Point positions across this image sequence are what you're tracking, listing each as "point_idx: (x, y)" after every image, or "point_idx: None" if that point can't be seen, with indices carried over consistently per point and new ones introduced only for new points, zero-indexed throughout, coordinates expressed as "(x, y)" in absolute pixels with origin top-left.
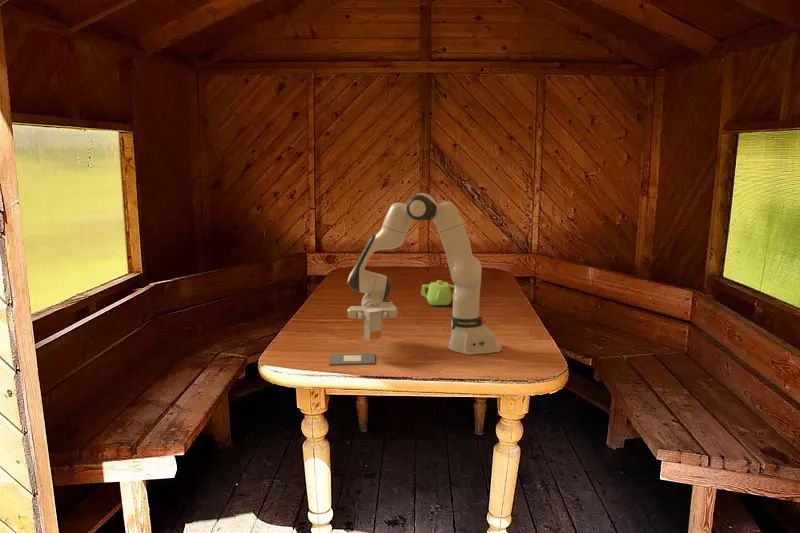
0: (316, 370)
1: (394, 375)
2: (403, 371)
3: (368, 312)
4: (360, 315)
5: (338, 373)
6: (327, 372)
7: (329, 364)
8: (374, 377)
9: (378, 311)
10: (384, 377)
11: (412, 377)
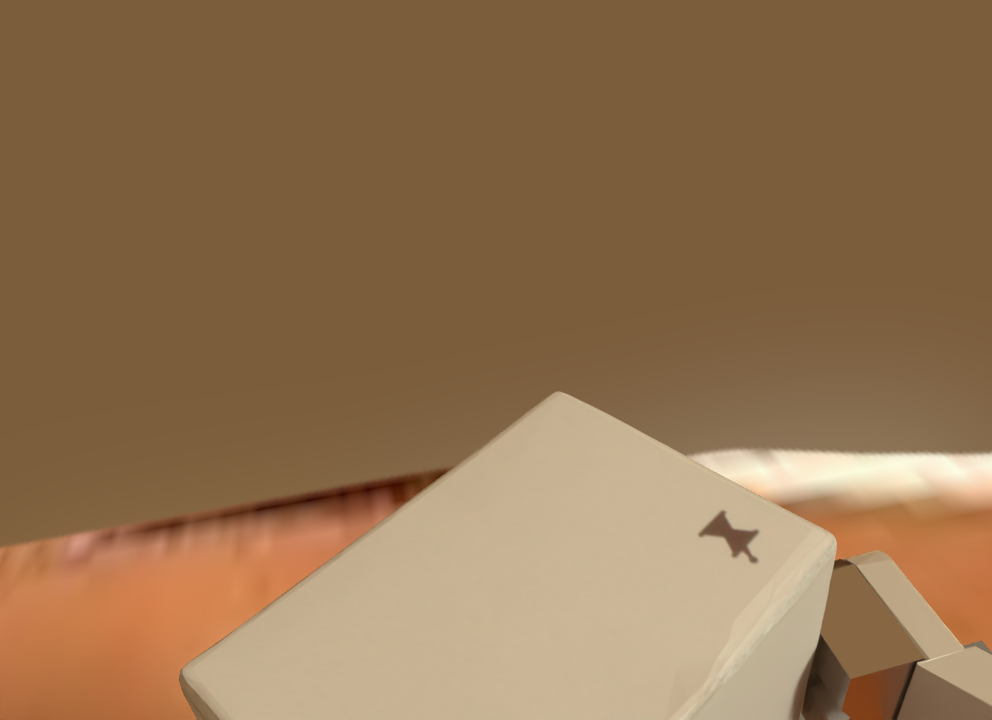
0: (986, 506)
1: (248, 543)
2: (151, 648)
3: (602, 417)
4: (883, 555)
5: (747, 488)
6: (855, 488)
7: (978, 644)
8: (417, 477)
9: (303, 588)
10: (334, 492)
11: (94, 536)
